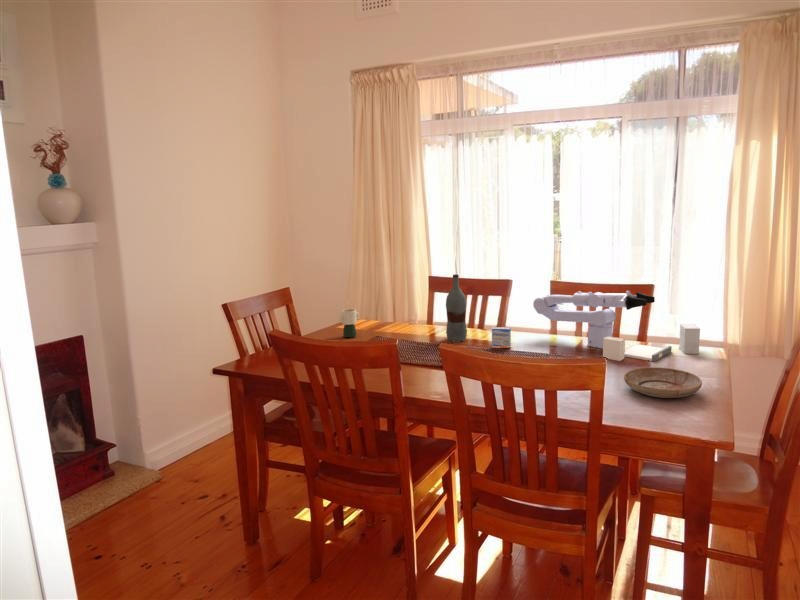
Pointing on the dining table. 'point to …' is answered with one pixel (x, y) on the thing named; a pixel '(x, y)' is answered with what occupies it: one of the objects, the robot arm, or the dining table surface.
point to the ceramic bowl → (663, 382)
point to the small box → (689, 338)
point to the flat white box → (647, 352)
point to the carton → (614, 348)
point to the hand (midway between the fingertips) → (650, 301)
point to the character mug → (349, 321)
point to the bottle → (456, 313)
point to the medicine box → (501, 336)
